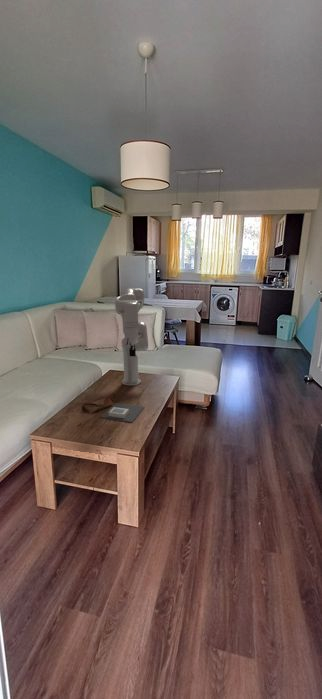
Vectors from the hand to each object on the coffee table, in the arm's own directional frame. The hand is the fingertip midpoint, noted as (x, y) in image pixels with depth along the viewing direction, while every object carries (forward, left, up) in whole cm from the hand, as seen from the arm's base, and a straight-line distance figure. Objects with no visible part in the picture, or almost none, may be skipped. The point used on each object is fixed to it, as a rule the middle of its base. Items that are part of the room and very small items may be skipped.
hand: (132, 355), depth 188 cm
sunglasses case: (+16, -15, -28) cm, 35 cm away
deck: (+18, 0, -25) cm, 31 cm away
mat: (+18, +1, -27) cm, 33 cm away
